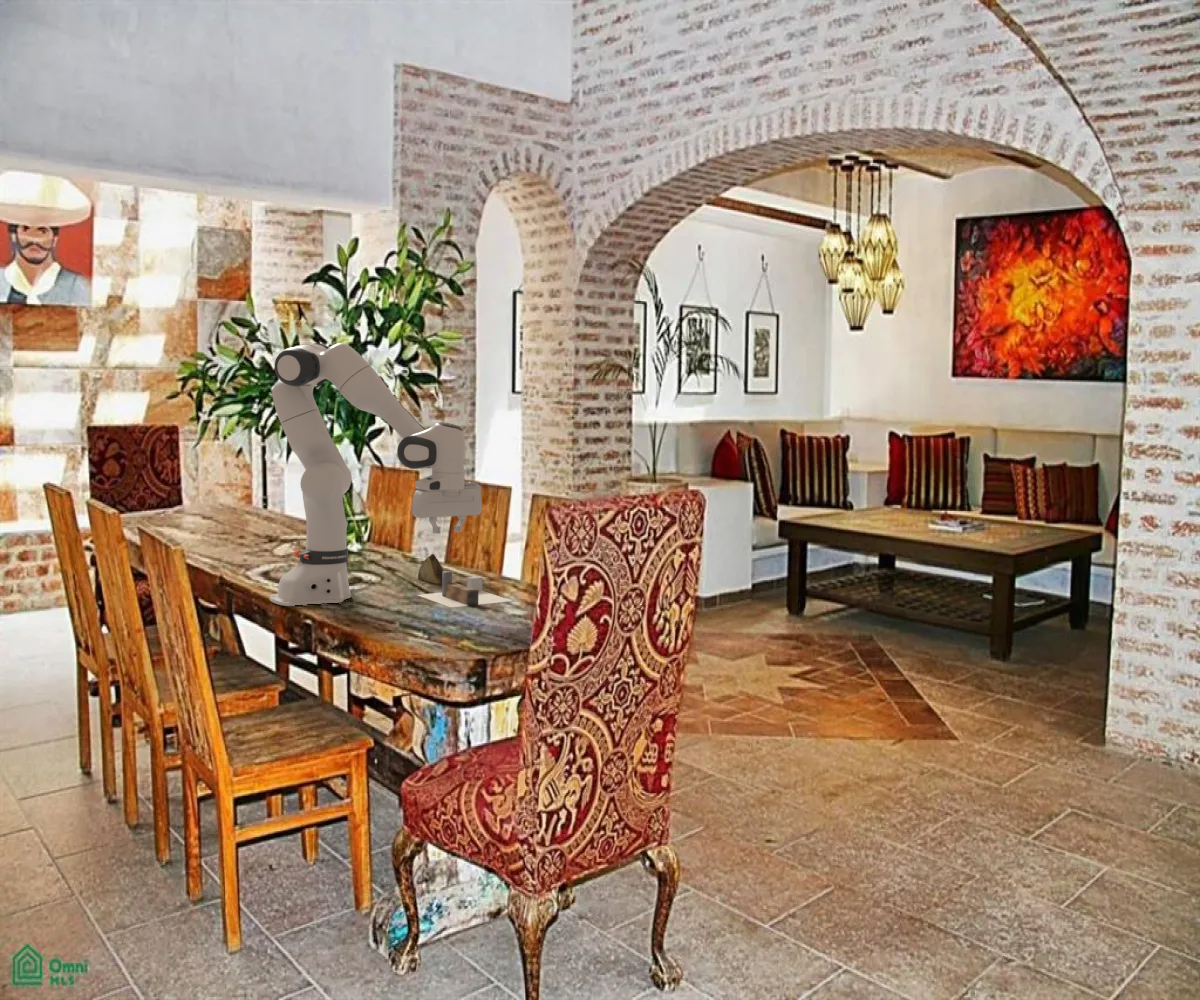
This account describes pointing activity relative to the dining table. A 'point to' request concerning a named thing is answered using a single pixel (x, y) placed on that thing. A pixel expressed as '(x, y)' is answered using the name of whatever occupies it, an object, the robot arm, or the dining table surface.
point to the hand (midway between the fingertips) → (447, 532)
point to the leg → (462, 594)
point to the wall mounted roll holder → (471, 583)
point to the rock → (431, 570)
